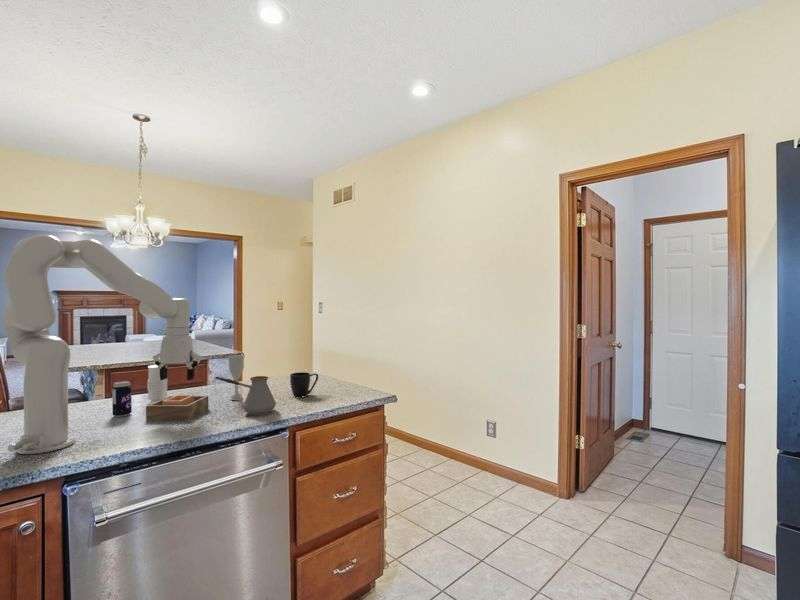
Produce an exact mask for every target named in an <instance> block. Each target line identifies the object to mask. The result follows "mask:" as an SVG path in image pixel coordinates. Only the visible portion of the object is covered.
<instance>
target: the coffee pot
mask: <svg viewBox="0 0 800 600" xmlns="http://www.w3.org/2000/svg"><path fill="white" fill-rule="evenodd" d="M268 379H269V376H267V375H258V376H252V377H250V378H249V380H250V381H251V385H250V384H245V383H242V382H239V381H238V382H236V381H235V380H233V379H230V378H224V377H220V376H215V377H214V378H213V381H212V382H213V383H215V382H216V381H217V380H219V381H221V382H222V381H223V382H225V383H227V384H233V385H235V384H236V385H238V386H242V387H246V388H248V389H249V390H248V393H247V395H246V397H245V400H244V403H243V405H242V408H243V410H244V411H245V412H246V413H248V415H250V416H263V415H268V414H270V413H271V412H270V411H273V410H274V409H275V407H276V405H277V403H276V401H275V398H274V396H273V394H272V392H271V389H270V388H269V385H268Z"/></svg>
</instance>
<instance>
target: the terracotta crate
mask: <svg viewBox="0 0 800 600" xmlns="http://www.w3.org/2000/svg"><path fill="white" fill-rule="evenodd" d="M172 396H173V397H171V398H169V399H166V400H164V401H162V405H189V404H191V403H193V402H194V396H195V395H194V394H177V395H172Z"/></svg>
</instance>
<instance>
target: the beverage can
mask: <svg viewBox="0 0 800 600" xmlns="http://www.w3.org/2000/svg"><path fill="white" fill-rule="evenodd" d="M112 385H113V386H112V389H111V390H112V391H111V393H112V399H111V401H112V405H111V406H112V416H114V417H115V418H124V417H123V416H125V417H128V416H129V415H130V414H131V413H132V410H133V409H132V402H133V401H132V384H131V382H130V381H129V380H124V381H123V380H122V381H116V382H113V384H112ZM127 415H128V416H127Z"/></svg>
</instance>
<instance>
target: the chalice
mask: <svg viewBox="0 0 800 600" xmlns="http://www.w3.org/2000/svg"><path fill="white" fill-rule="evenodd" d="M245 357H246V356H245V355H242V354H236V355H235V354H234V355H229V356H227V359H228V370H229V373H230V376H231V377H232V379H234V381H236V382H239V381H238V380H239V379H240V378H241V376H242V373H243V371H244V369H245V359H244V358H245ZM238 390H239V385H236V384H234V393H232V394H231V397H230V401H231V400H239V401H242V400H244V398H243V395H242V394H241V393H240V392H239V391H238ZM241 399H242V400H241Z"/></svg>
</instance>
